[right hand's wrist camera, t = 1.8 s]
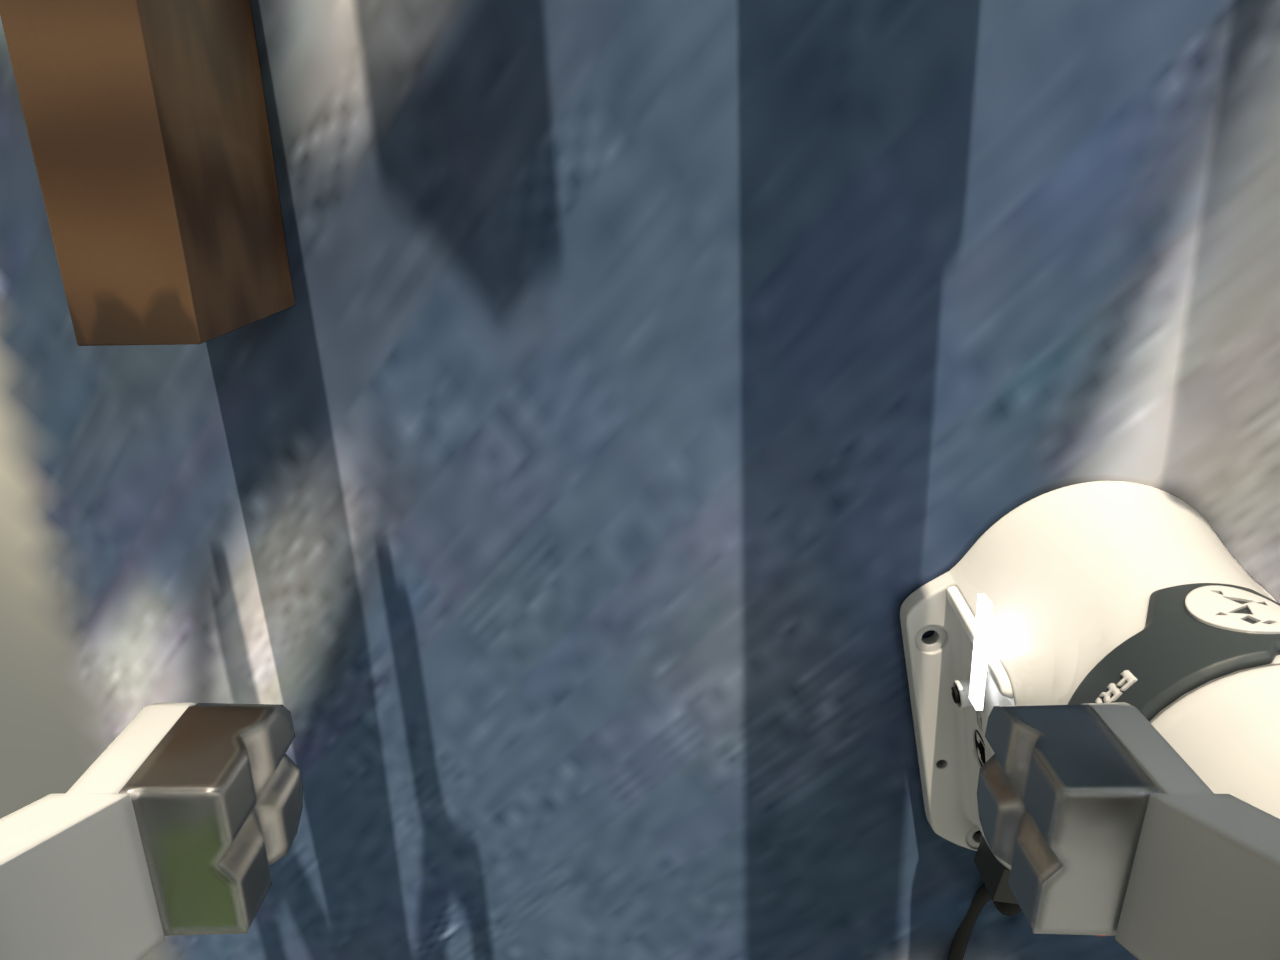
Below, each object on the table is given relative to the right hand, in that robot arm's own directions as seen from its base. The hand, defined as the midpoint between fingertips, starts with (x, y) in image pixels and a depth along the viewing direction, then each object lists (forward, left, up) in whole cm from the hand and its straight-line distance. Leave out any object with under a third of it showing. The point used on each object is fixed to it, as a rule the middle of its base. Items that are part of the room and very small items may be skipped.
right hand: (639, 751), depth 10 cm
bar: (+12, +19, -33) cm, 39 cm away
